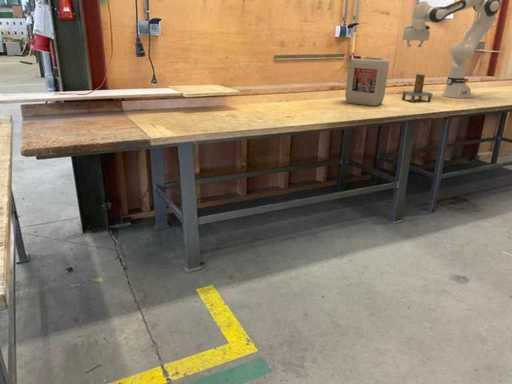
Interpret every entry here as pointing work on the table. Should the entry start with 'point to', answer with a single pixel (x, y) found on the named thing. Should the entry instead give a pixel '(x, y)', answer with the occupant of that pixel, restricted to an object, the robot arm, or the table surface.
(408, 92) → the step stool
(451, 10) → the robot arm
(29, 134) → the table surface
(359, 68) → the jerry can
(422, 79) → the walnut post
